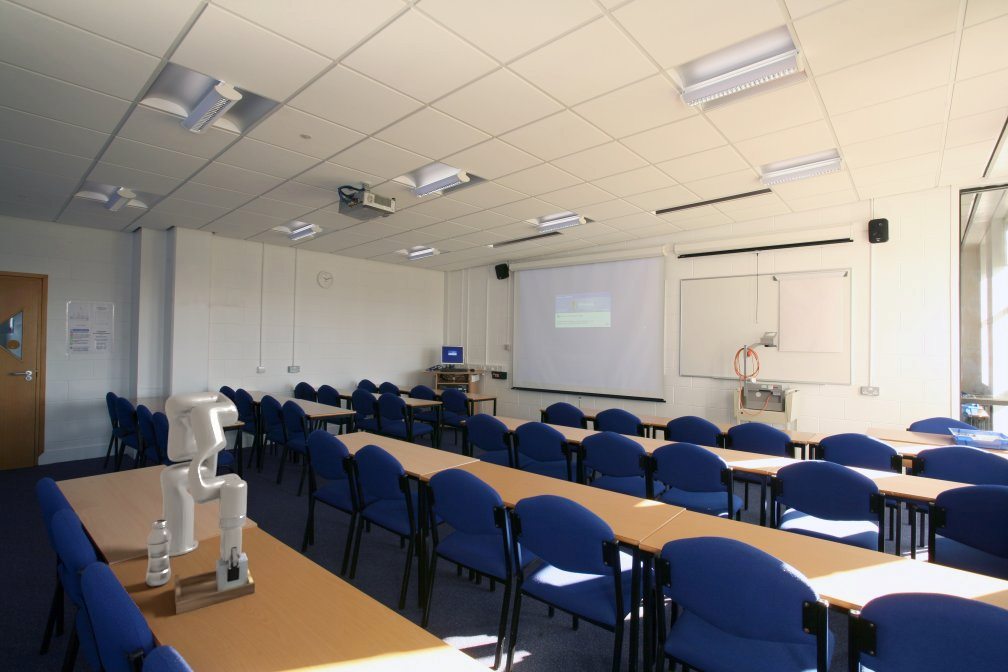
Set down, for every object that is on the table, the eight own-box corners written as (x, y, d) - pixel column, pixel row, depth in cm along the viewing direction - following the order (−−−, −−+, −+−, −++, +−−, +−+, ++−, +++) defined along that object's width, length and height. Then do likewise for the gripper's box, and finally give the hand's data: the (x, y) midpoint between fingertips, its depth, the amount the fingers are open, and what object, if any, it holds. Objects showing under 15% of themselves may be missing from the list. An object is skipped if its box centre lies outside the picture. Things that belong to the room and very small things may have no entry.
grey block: (216, 582, 150) (216, 558, 150) (244, 575, 155) (244, 551, 155) (218, 591, 145) (218, 565, 145) (247, 583, 150) (247, 559, 150)
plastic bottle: (157, 590, 147) (159, 526, 147) (139, 587, 148) (141, 524, 148) (176, 579, 153) (177, 518, 153) (158, 577, 154) (160, 516, 154)
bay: (174, 589, 147) (174, 573, 147) (246, 571, 159) (246, 556, 159) (176, 614, 135) (176, 597, 135) (254, 592, 147) (254, 576, 147)
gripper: (216, 513, 155) (214, 565, 155) (222, 532, 141) (220, 589, 141) (241, 508, 159) (240, 559, 159) (250, 527, 145) (248, 582, 145)
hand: (231, 573), depth 150 cm, fingers open, 9 cm apart
